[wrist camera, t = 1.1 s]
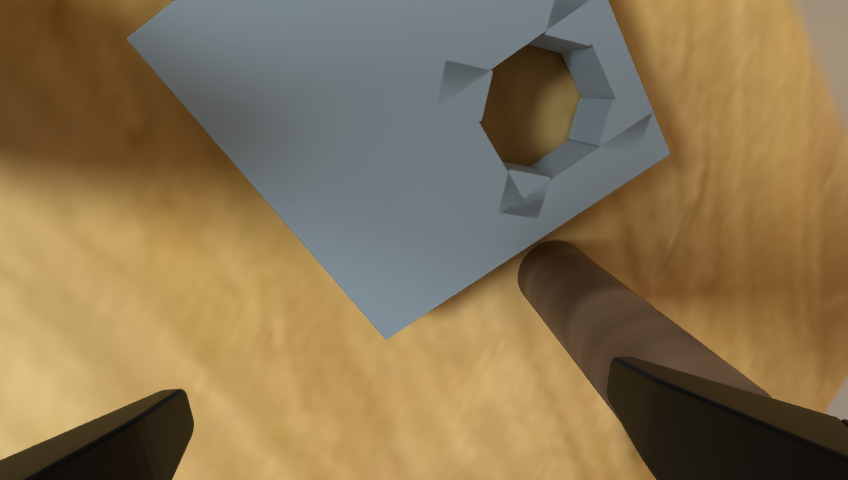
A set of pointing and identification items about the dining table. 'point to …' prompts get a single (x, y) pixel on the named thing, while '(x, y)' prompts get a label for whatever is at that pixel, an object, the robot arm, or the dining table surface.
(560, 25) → the plate
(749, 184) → the dining table surface
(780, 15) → the dining table surface
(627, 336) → the peg
